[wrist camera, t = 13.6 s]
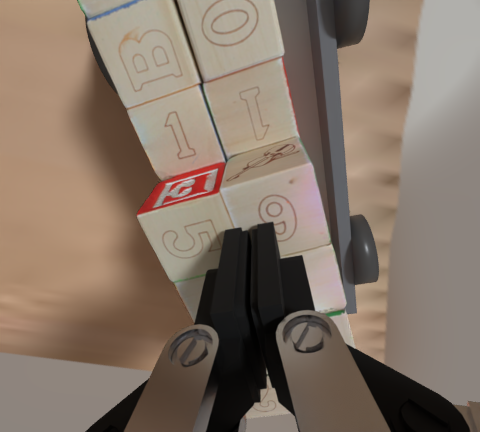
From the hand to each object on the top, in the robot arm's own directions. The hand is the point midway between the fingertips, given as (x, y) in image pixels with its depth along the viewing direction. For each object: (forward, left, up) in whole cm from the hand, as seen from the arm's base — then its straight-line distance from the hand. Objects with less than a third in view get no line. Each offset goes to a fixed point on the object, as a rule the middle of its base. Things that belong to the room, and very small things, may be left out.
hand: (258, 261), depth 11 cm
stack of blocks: (-1, -1, -13) cm, 13 cm away
